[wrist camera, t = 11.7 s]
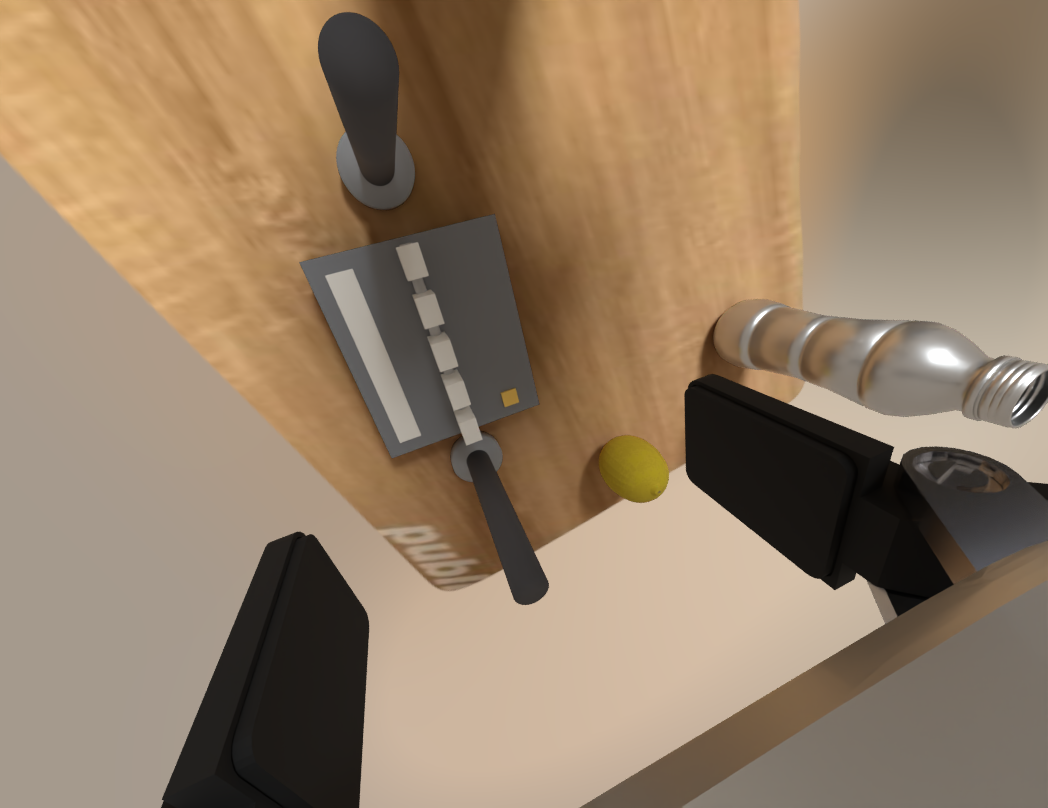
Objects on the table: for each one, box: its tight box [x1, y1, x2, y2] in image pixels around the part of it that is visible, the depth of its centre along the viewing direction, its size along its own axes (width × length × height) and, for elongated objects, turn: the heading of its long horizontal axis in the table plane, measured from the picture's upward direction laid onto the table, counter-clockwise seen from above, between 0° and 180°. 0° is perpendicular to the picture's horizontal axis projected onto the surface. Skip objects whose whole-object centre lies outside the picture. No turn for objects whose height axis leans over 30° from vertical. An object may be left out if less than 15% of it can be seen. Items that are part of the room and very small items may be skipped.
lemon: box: [599, 435, 669, 503], centre depth 34 cm, size 6×6×8 cm
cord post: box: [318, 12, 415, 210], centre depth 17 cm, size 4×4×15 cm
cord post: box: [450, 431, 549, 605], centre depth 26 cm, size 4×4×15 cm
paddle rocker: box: [396, 242, 483, 446], centre depth 24 cm, size 13×1×3 cm, turn 14°
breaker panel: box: [299, 214, 539, 458], centre depth 27 cm, size 14×12×3 cm
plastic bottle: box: [713, 299, 1048, 428], centre depth 28 cm, size 6×7×20 cm
